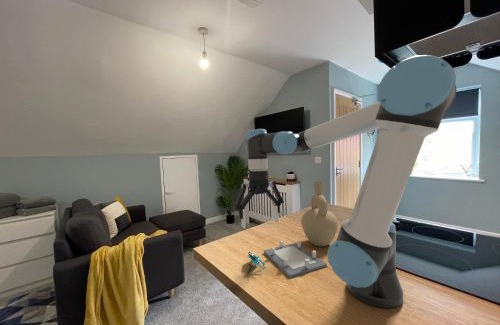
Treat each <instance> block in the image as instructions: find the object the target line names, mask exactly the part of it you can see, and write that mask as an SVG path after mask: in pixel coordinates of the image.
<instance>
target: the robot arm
mask: <svg viewBox="0 0 500 325" xmlns="http://www.w3.org/2000/svg"><path fill="white" fill-rule="evenodd" d="M456 82H457V76H456V72H455V69H454V68H453V66H452V65H450V63H449V62H448V61H446V60H444V59H443V58H441V57H439V56H436V55H432V54H431V55H429V54H423V55H421V54H420V55H414V56H410V57H409V58H405V59H403V60H401V61H399V62H397V63H396V64H395V65H393V66H392V67H391V68H390V69H389V70H388V71H387V72H386V73H385V74H384V76H383V77H382V79H381V80H380V83H379V86H378V91H377V94H378V95H377V96H378V101H377V102H374V103H371V104H369V105H366V106H364V107H360V108H359V109H356V110H354V111H351V112H348V113H346V114H343V115H341V116H338V117H336V118H333V119H330V120H328V121H325V122H323V123H320V124H318V125H316V126H313V127H310V128H308V129H305V130H303V131H300V132H298V133H293V131H279V132H272V133H271V132H270V133H268V132H267V130H266V129H264V128H257V129H250V130H248V131H247V136H246V138H247V140H246V142H247V163H248V170H249V171H248V183H241V184H240V190H239V191H238V192H239V193H238V195H237V198H236V200H235V202H234V204H233V209H235V210H237V211H238V218H239V219H240V221H241V227H242V228H243V229H246V227H247V221H246V218H247V217H246V210H245V208H246V206H247V205H248V204H249V202H250V200H251V199H252V198H253V197H254V196H255V195H260V194H261V195H264V194H265V195H266V196H267V197H268V198H269V199H270V200H271V202H272V203H273V204H272V221H273V222H275V223H277V224H278V223H279V214H280V207H281V204H284V199H283V197H282V195H281V192H280V191H279V189H278V187H277V182H276V181H274V180H270V181H269V170H268V169H269V161H268V156H269V155H288V154H304V153H308V152H310V151H311V150H313V149H316V148H319V147H322V146H325V145H329V144H333V143H337V142H339V141H342V140H346V139H349V138H352V137H355V136H359V135H362V134H365V133H369V132H372V131H375V130H379V131H378V134H377V137H376V140H375V143H374V146H373V148H372V152H371V156H370V158H369V161H368V164H367V167H366V170H365V173H364V176H363V179H362V182H361V185H360V188H359V192H358V194H357V197H356V200H355V204H354V207H353V209H352V212H351V216H350V217H349V218H346V219H344V220H342V223H341V226H340V229H339V231H338V236H337V238H336V240H334V241H332V242H331V243H330V244H329V245H330V246H329V247H328V249H327V260H328V261H327V262H328V264H329V266H330V267H331V268H332V271H333V273H334V274H335V275H336V276H337V277H338V278H339V279H340V280H341V281H342V282H344V283H346V286H347V289H348V291H349V292H350V294H352V296H353V297H355V298H356V299H357V300H359V301H361V302H363V303H365V304H367V305H370V306H373V307H376V308H382V309H394V308H398V307H400V306H402V304H403V302H404V290H403V288H402V286H401V282H400V280H399V277H398V274H397V250H396V249H397V234H398V233H397V231H396V230H397V229H396V224H394V223H393V220H394V218H395V215H396V214H397V210H398V208H399V205H400V202H401V200H402V197H403V195H404V193H405V190H406V187H407V184H408V183H409V179H410V178H411V177H410V176H411V174H412V171H413V170H414V167H415V165H416V161H417V159H418V156H419V153H420V152H421V149H422V145H423V143H424V141H425V138H426V137H428V136H430V135H432V134H433V133H436V132H438V130H439V128H440V125H441V123H442V120H443V118H444V115H445V113H446V110H448V109H449V108H450V107H451V106H452V104H453V103H454V101H455V98H456V96H457V86H456ZM269 187H270V188H271V190H272V192H273V193H274V194H273V193H271V191H270V190H269V189H268V188H269ZM248 189H249V190H248ZM247 190H248V192H247V194H246V191H247ZM245 194H246V195H245ZM244 195H245V197H244Z"/></svg>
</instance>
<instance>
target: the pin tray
mask: <svg viewBox="0 0 500 325" xmlns="http://www.w3.org/2000/svg"><path fill="white" fill-rule="evenodd" d="M263 254H264V255H265V256H266V257H267V258H269V259H270V261H271V262H272V263H273V264H274V265H275V266H276V267H278V269H280V270H281V272H283V273H284V274H285V275H286V276H287V277H288V278H289V279H293V278H296V277H299V276H301V275H305V274H307V273H308V274H309V273H311V272H314V271H318V270H320V269H323V268H327V267H328V263H326V262H325V261H323V260H322V259H320V258H318V256H317V251H316V250H314V249H313V250H312V251H311V252H310V251H308V250H307V249H306V248H304V247H303V246H302V241H301V240H298V241H297V242H295V243H290V244H286V245H284V240H279V246H278V247H273V246H272V247H270V248H269V249H264V250H263Z"/></svg>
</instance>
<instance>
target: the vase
mask: <svg viewBox="0 0 500 325" xmlns="http://www.w3.org/2000/svg"><path fill="white" fill-rule="evenodd" d="M312 183H313V187H314V194H313V195H312V196H311V198H310V206H311V209H309V210H306V211H305V212H304V213H303V215H302V217H301V222H300V223H301V227H302V230H303V232H304V235H305V237H306V238H307V240H308V241H309V242H310V244H312V245H314V246H316V247H326V246H328V245H331V244H332V242H333V240H334V238H335V235H336V234H337V232H338V231H337V230H338V225H339V221H338V218H337V217H336V216H335V214H334V213H333V212H331V211H329V210H328V207H329V206H328V202H327V199H326V197H325V196H324V195H323V187H324V182H322V181H314V182H312Z"/></svg>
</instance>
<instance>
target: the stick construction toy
mask: <svg viewBox="0 0 500 325" xmlns="http://www.w3.org/2000/svg"><path fill="white" fill-rule="evenodd" d="M247 254H248V255H247V257H248V258H249V259H250V261H249V262H248V266H250V267H249V268H248V270H247V272H246V273H247V274H250V272H251V270H252V269H253V268H254V267H255V266H256V265H257V266H259V267H260V268H261V269H262V270H265V266H266V265H265V263H264V262H263V261H262V260H261V259H260V256H256V254H253V253H252V252H251V251H248V253H247ZM260 263H261V264H262V266H261V265H260Z"/></svg>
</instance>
